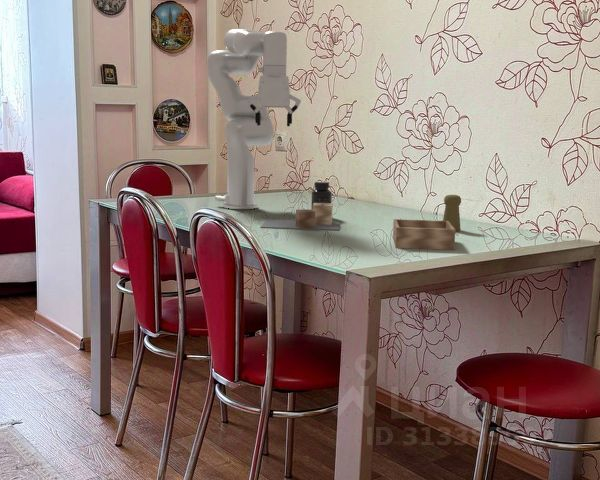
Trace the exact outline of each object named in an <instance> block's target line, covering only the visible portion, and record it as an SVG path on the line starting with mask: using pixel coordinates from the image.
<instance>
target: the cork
mask: <svg viewBox="0 0 600 480" xmlns="http://www.w3.org/2000/svg"><path fill="white" fill-rule="evenodd" d="M443 203H444V205H445V206H444V212H443V217H442V221H449V222H450V224H451V225H452V226H453V227H454V228H455V233H456V232H461V230H462V229H461V219H460V218H461V217H460V216H461V215H460V205H461V203H462V198H461V196H460V195H458V194H447V195H445V196H444V199H443Z"/></svg>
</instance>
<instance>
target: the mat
mask: <svg viewBox="0 0 600 480" xmlns="http://www.w3.org/2000/svg"><path fill="white" fill-rule="evenodd" d="M340 226H341V221H333V220H332V224H331V225H321V224H315V228H298V227H297V226H296V219H275V218H274V219H272V218H270V219H269V218H267V219H265V220H264V222H263V223H262V224H261V226H260V227H259V228H260V229H284V230H309V231H310V230H312V231H314V230H315V231H316V230H317V231H340V228H341V227H340Z"/></svg>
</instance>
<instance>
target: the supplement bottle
mask: <svg viewBox="0 0 600 480" xmlns="http://www.w3.org/2000/svg"><path fill="white" fill-rule="evenodd" d="M329 188H330V181H329V182H327V181H315V182H314V189H313V190H312V191H311V195H310V196H311V198H310V199H311V201H310V202H311V203H310V204H311V205H310V208H311V209H310V210H313V204H314V203H333V192H332V191H331V190H330V189H329Z"/></svg>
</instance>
